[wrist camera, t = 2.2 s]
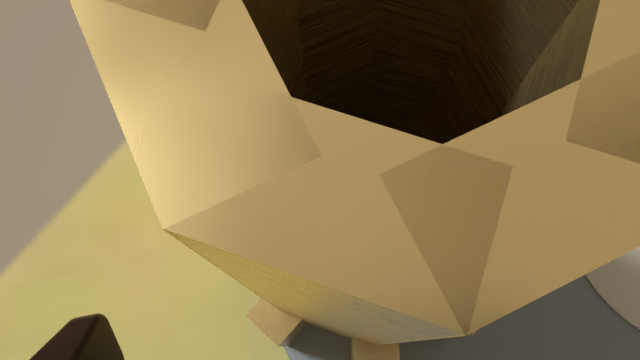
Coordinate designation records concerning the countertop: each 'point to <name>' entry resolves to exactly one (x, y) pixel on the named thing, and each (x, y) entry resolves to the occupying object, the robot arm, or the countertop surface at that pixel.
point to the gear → (382, 150)
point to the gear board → (530, 326)
